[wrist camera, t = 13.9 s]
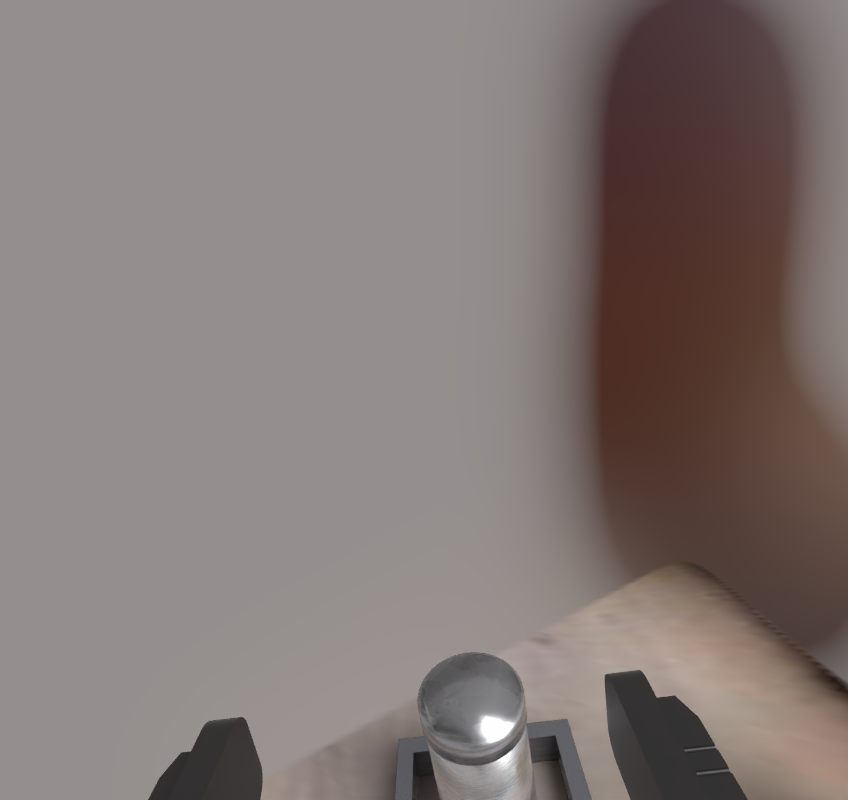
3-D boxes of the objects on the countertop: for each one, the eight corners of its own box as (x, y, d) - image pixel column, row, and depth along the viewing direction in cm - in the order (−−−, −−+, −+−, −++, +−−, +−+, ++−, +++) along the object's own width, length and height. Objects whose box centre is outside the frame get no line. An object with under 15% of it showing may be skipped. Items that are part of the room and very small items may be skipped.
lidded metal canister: (434, 880, 26) (397, 720, 23) (474, 786, 30) (447, 642, 27) (528, 937, 23) (500, 764, 20) (558, 825, 27) (538, 668, 24)
